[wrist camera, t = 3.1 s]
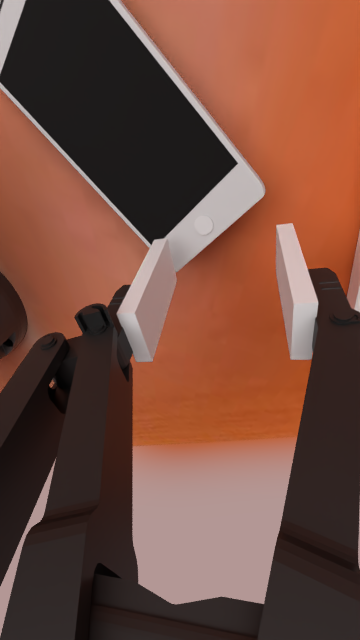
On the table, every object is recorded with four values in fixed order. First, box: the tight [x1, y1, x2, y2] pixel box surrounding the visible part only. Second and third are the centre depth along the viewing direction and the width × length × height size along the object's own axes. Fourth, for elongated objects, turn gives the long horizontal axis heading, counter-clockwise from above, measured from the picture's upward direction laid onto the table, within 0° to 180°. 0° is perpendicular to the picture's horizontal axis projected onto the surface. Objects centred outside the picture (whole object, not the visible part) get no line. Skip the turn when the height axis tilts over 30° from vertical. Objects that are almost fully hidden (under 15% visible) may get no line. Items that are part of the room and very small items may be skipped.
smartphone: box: [0, 0, 265, 272], centre depth 15 cm, size 7×16×1 cm, turn 47°
